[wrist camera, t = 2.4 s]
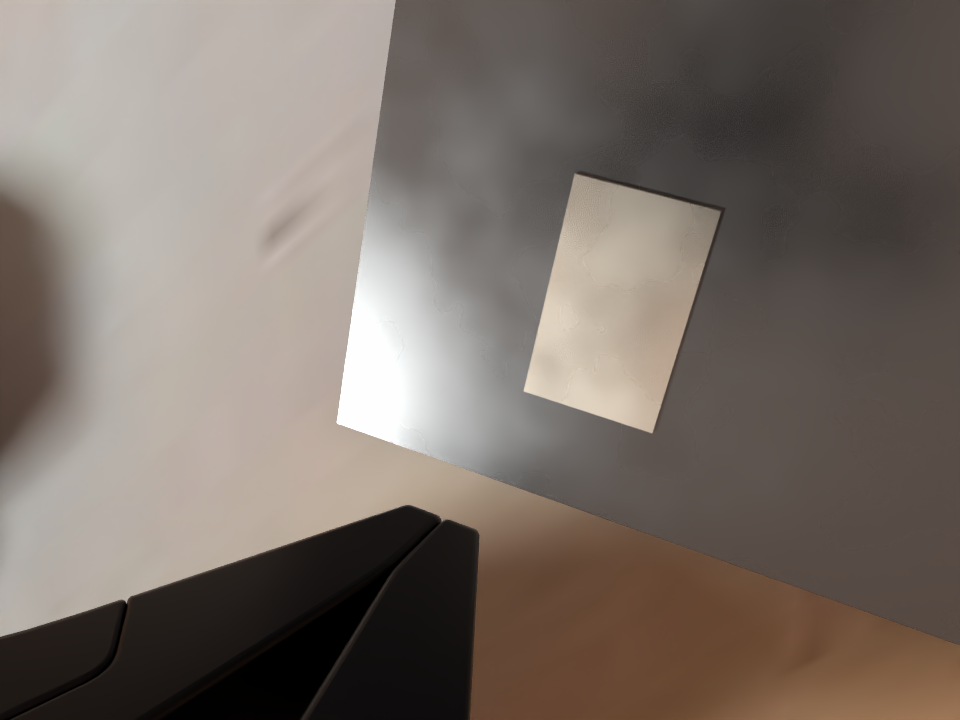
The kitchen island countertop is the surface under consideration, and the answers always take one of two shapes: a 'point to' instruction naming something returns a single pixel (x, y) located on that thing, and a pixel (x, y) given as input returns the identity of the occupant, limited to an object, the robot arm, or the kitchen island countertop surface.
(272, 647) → the robot arm
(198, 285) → the kitchen island countertop surface
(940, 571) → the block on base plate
